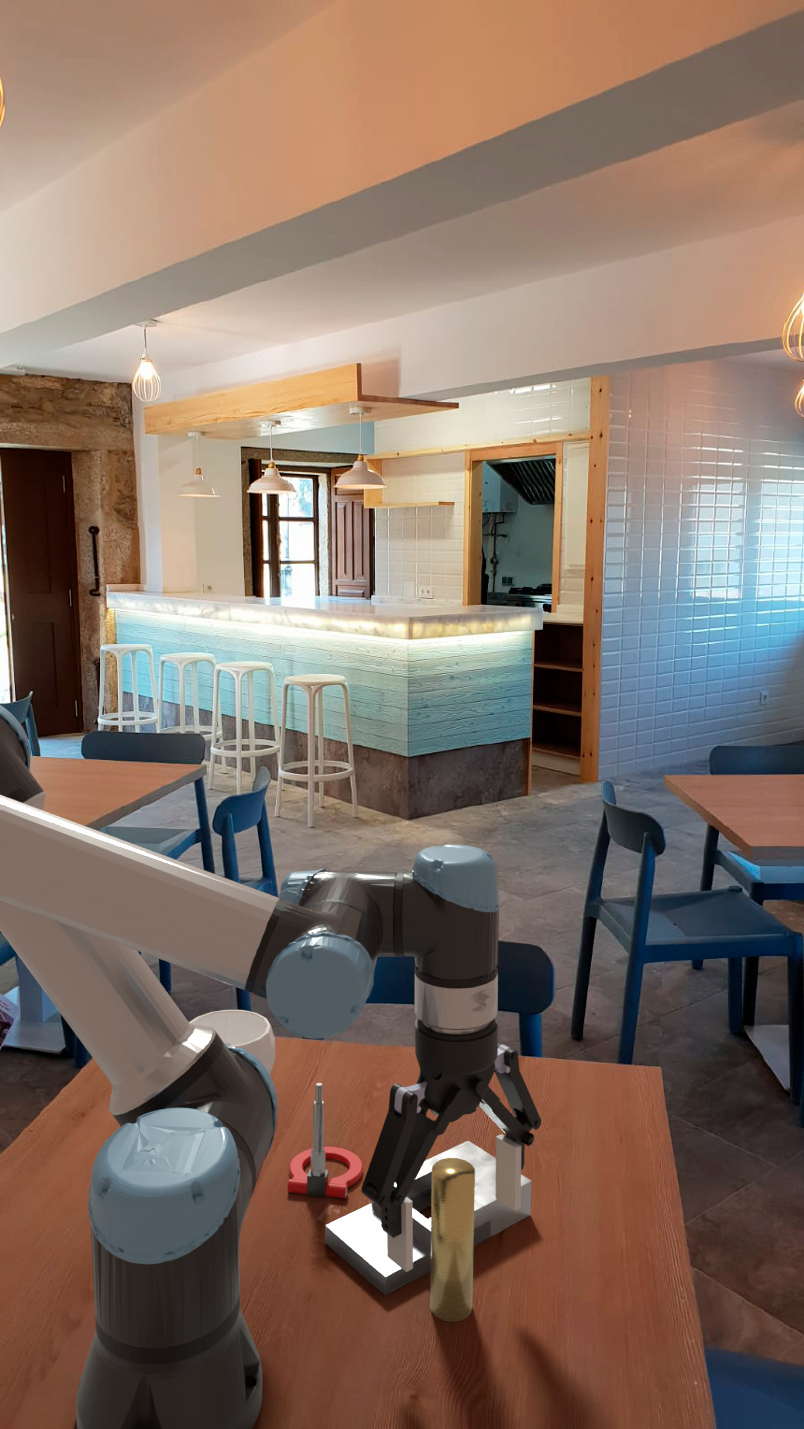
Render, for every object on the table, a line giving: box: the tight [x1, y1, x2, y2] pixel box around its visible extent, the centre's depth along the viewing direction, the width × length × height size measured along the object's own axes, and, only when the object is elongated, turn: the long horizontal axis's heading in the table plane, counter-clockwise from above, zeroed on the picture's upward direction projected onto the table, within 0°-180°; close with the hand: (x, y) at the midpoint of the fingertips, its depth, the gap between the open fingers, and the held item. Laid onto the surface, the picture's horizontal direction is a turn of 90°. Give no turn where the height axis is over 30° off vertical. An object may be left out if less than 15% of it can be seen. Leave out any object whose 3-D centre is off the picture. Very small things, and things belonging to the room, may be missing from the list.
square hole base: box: [324, 1140, 532, 1297], centre depth 110 cm, size 20×10×4 cm, turn 129°
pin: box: [429, 1158, 475, 1323], centre depth 98 cm, size 4×4×14 cm
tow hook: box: [287, 1082, 364, 1199], centre depth 119 cm, size 8×13×9 cm
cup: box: [188, 1009, 276, 1076], centre depth 136 cm, size 12×12×10 cm
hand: (456, 1231), depth 98 cm, fingers open, 13 cm apart
